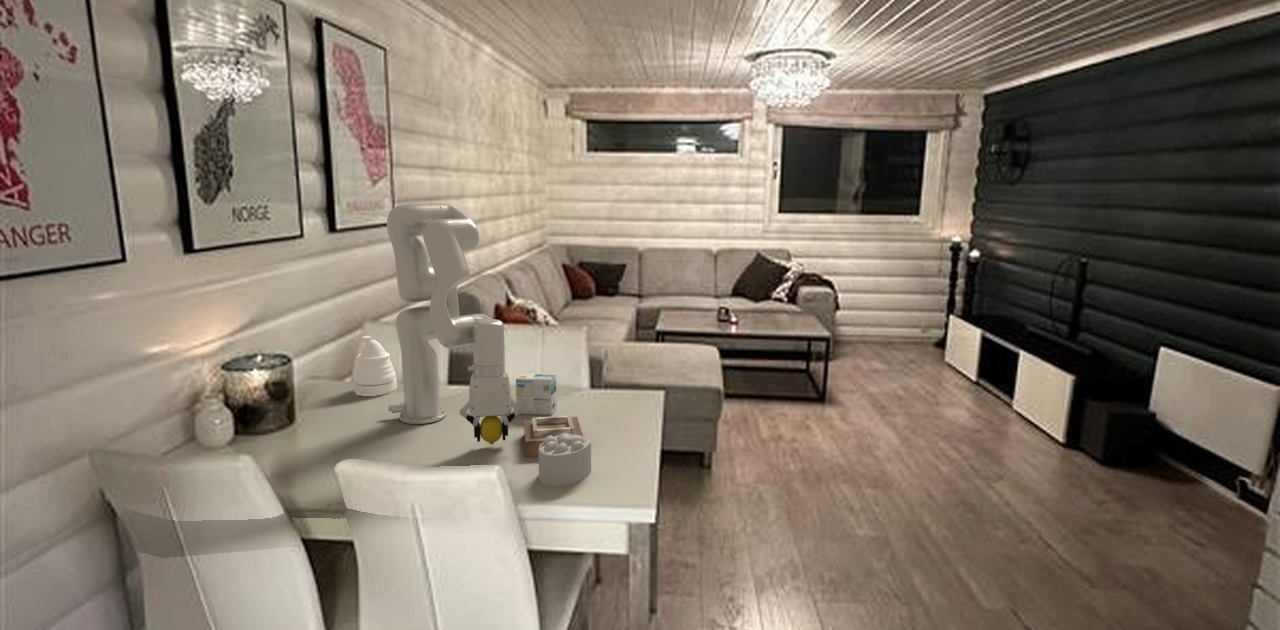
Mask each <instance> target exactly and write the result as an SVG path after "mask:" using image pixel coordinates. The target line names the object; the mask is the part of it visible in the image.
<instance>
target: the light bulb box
mask: <svg viewBox="0 0 1280 630" xmlns="http://www.w3.org/2000/svg"><path fill="white" fill-rule="evenodd" d="M515 397H516V401H515V402H516V403H517V404H518V405H519V406H520V407H521V412H520V413H519V414H518V415H542V416H543V415H544V416H546V415H547V416H552V415H553V414H554V413H555V411H556V410H557V409H558V403H557V402H558V400H557V399H558V398H557V397H558V396H557V374H556V373H535V372H534V373H531V372H530V373H526V372H521V373H520V374H519V375H518V376H517V377H516V378H515Z"/></svg>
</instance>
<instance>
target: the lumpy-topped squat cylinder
mask: <svg viewBox="0 0 1280 630" xmlns="http://www.w3.org/2000/svg"><path fill="white" fill-rule="evenodd" d="M538 453H539V456H538V480H540V481H539V483H541V484H542V485H543V484H544V485H543V486H545V485H546V487H550V486H554V488H555V487H556V486H558V487H564V486H565V485H566V486H570V485H573V483H574V484H576V483H577V484H578V483H579V482H581V481H582V480H584V479H585V478H586V477H588V476H589V475H590V474H591V473H592V440H591V439H590V438H587V437H584V436H583V437H582V436H580V435H572V434H568V433H562V434H561V435H557V436H554V437H553V436H551V435H550V436H547V437H545V438H544V440H543V443H542V444H540V446H539V450H538ZM569 484H570V485H569ZM566 486H565V487H566Z"/></svg>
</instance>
